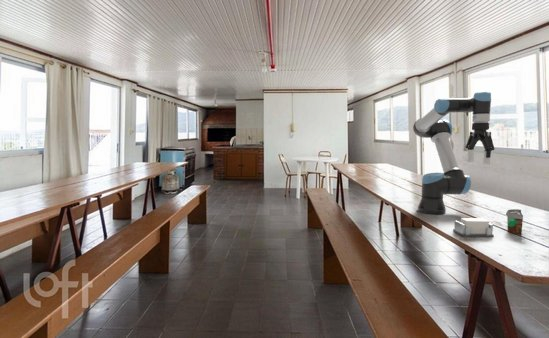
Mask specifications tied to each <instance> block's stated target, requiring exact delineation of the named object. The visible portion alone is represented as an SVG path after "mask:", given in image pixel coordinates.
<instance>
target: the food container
mask: <svg viewBox="0 0 549 338" xmlns="http://www.w3.org/2000/svg"><path fill="white" fill-rule="evenodd" d="M505 216H506V217H507V220H506V221H507V232H508V233H510V234H513V235H518V236H522V231H523V223H524V222H523V221H524V214H522V209H518V208H517V209H516V208H515V209H507V211H506V213H505Z"/></svg>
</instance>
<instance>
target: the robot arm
mask: <svg viewBox="0 0 549 338" xmlns="http://www.w3.org/2000/svg"><path fill="white" fill-rule="evenodd" d="M491 103H492V93H491V92H490V91H479V92H474V94H473V97H468V98H467V97H466V98H465V97H462V98H438V99H437V100H435V102H434V105H433V108H431V110H430V111H428V112H427V113H426V114H425V115H424V116H423V117H420V118H418V119H417V120H416V121H415V122H414V123H413V125H412V128H413V129H412V131H413V132H414V134H415V135H416V136H418V137H420V138H423V139H424V138H425V139H428V138H430V140H431V142H432V143H433V144H434V145H435V148H436V151H437V156H438V158H439V161H440V164H441V168H442V171H443V172H429V173H425V174H424V175H423V176H422V178H421V179H422V180H421V199H420V202H419V203H418V206H417V211H418V212H420V213H423V214H430V215H443V214H444V215H445V214H446V211H447V209H446V205H445V202H444V195H466V194H467V193H469V192H470V190H471V186H472V179H471V177H470V175H469V174H465V173H464V170H462V169H461V168H460V166H459V164H458V161H457V158H456V155H455V153H454V149H453V147H452V143H451V141H450V138H451V136H452V135H453V126H452V123H451V122H450V121H448V120H447V119H443V118H444V117H445V116H447V115H448V114H450V113H467V114H468V113H472V124H471V130H472V131H469V137H468V139H467V143H466V145H465V149H467V163H470V162H474V157H475V147H476V145H477V143H478V142H479V141H480V142H481V144H482V146H483V148H484V150H483V163H482V164H483V165H490V164H491V157H492V156H491V155H492V154H491V153H492V151H494V150H495V146H494V142H493V138H492V132H491V131H488V130H489V129H490V120H491V119H490V118H491V107H492V106H491V105H492V104H491Z"/></svg>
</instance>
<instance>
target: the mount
mask: <svg viewBox="0 0 549 338" xmlns="http://www.w3.org/2000/svg"><path fill="white" fill-rule="evenodd" d="M493 229H494V224H492V223H491V222H489V228H486V234H470V228H465V224H463V223H461V221H458V220H454V228H453V229H452V231H453V232H454V233H456V235H457V234H458V235H459V236H461V237H463V238H494V235H495V234H493V232H494V231H493Z"/></svg>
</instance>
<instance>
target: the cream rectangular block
mask: <svg viewBox="0 0 549 338" xmlns="http://www.w3.org/2000/svg"><path fill="white" fill-rule="evenodd" d="M460 222H461V223H463V224H465V228H470V234H486V228H489V223H490V221H489V220H487V219H486V218H482V217H481V218H480V217H479V218H477V217H476V218H473V217H469V218H468V217H467V218H466V217H464V218H463V217H461V218H460Z"/></svg>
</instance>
